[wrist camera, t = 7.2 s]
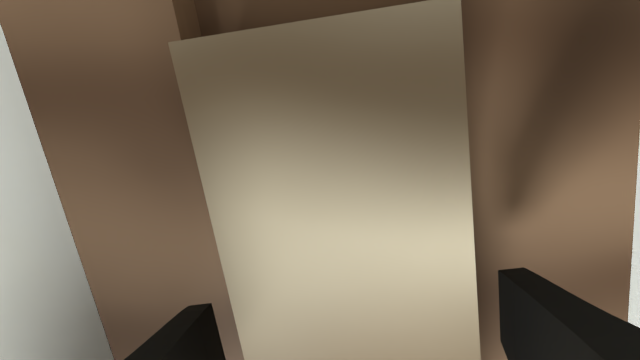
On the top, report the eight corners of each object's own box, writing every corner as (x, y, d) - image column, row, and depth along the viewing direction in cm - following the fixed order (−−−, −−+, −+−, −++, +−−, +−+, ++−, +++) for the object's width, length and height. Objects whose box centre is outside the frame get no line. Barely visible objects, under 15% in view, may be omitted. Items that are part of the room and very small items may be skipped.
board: (572, 484, 20) (612, 559, 17) (211, 513, 21) (192, 588, 18) (586, -86, 13) (654, -117, 11) (58, 2, 15) (-9, -5, 12)
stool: (236, 36, 14) (168, 42, 8) (406, 8, 13) (460, -6, 8) (310, 411, 18) (300, 589, 12) (441, 398, 18) (492, 576, 12)
